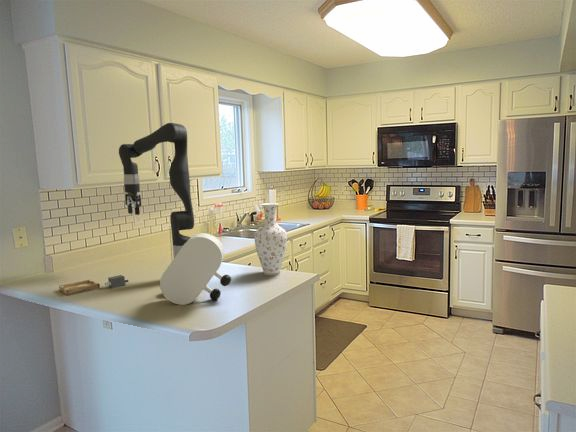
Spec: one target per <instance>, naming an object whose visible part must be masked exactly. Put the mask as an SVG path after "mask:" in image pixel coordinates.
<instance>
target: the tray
mask: <svg viewBox="0 0 576 432" xmlns="http://www.w3.org/2000/svg"><path fill="white" fill-rule="evenodd" d="M58 288H59V289H58V290H59V291H60V292H61V293H63V294H64V295H66V296H72V295H76V294H81V293H85V292H89V291H94V290H99V289H101V287H100V283H99V282H97V281H95V280H93V279H87V280H81V281H80V280H79V281H76V282H72V283H67V284H66V283H65V284H61V285H59V286H58Z"/></svg>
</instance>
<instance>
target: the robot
mask: <svg viewBox="0 0 576 432" xmlns="http://www.w3.org/2000/svg"><path fill="white" fill-rule="evenodd" d="M190 237H191V238H190V239H189V240H188V241H187V242H186V243H185V244H184V245H183V247H182V248H181V250H180V251H179V252H178V254H177V255H176V256H175V258H172V260H171V262H170V264H168V265H167V268H166V269H165V271H164V272H162V275H161V277H160V281H159V289H160V291H161V294H162V295H163V296H164V297H165V299H167V300H168V301H169V302H171V303H173V304H176V305H183V306H184V305H185V306H186V305H188V304H191V303H192V302H194V301H195V300H196V299H197V298H198V297H199V296H200V295H201V293H202V292H203V290H204V291H205V292H207V293H208V294H209V297H210V299H211V300H212V301H217V300H219V299H220V297H221V290H220V289H219V288H214V289H212V288H211V287H209V286H208V284H209V282H210V280H211V279H212V278H213V277H214V276H215V277H216V278H218V280H220V282H219V283H220V285H221V286H222V287H227V286H229V285H230V283H231V282H232V277H231V276H230V275H229V274H221V273H220V272H218V271H219V268H220V267H221V265H222V262H223V260H224V257H225V248H224V246H223V244H222V242H221V241H220V240H219V238H217V237H216V236H214V235H212V234H210V233H206V232H201V233H197V234H194V235H193V236H190Z"/></svg>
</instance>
